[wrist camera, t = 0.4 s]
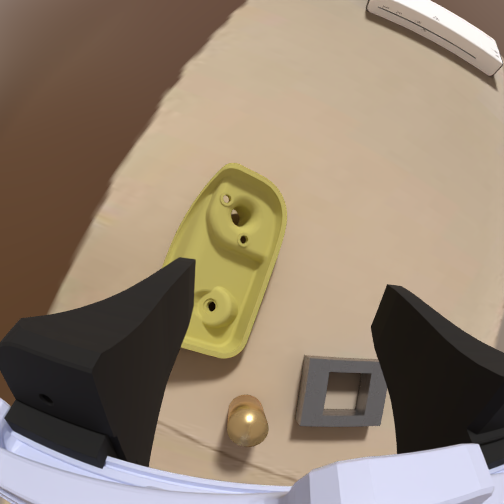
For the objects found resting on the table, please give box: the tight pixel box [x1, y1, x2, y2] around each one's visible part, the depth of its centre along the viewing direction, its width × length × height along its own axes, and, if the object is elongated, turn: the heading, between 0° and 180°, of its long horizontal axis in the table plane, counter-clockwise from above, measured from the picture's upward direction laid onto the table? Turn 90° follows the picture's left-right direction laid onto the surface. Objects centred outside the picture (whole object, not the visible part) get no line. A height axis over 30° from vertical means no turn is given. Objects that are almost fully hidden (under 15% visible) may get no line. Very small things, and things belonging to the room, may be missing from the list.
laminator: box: [366, 0, 503, 76], centre depth 49 cm, size 34×12×6 cm, turn 71°
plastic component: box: [162, 163, 287, 358], centre depth 36 cm, size 20×7×10 cm
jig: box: [295, 355, 387, 427], centre depth 34 cm, size 8×10×3 cm
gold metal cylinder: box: [227, 395, 268, 447], centre depth 31 cm, size 4×4×7 cm
